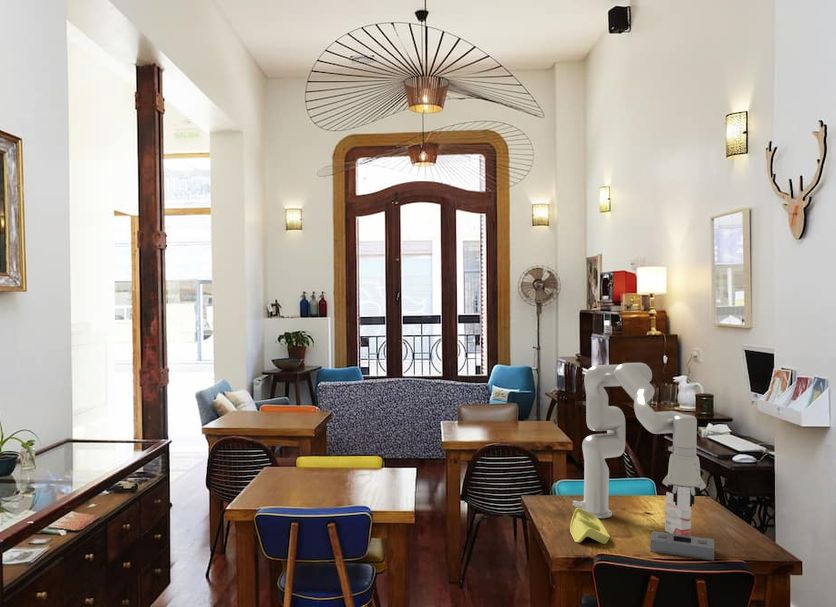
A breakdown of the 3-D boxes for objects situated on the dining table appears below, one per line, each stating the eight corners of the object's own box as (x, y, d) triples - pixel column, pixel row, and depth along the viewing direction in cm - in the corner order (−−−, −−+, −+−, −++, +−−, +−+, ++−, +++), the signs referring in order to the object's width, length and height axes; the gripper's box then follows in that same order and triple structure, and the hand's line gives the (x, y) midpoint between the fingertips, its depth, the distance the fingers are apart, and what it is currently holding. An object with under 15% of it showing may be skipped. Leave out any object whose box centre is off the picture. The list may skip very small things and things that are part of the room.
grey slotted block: (650, 551, 239) (650, 539, 239) (652, 542, 248) (652, 530, 248) (714, 560, 231) (714, 548, 231) (713, 550, 241) (714, 539, 241)
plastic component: (611, 538, 244) (586, 525, 244) (601, 557, 245) (576, 544, 245) (597, 516, 264) (574, 505, 264) (588, 533, 265) (565, 522, 264)
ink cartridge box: (691, 536, 255) (692, 496, 255) (681, 538, 253) (682, 497, 253) (674, 529, 263) (675, 490, 263) (664, 530, 261) (665, 491, 261)
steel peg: (677, 509, 238) (677, 486, 238) (677, 506, 242) (677, 483, 242) (689, 511, 237) (690, 487, 237) (689, 508, 241) (690, 484, 241)
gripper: (658, 451, 239) (657, 505, 239) (711, 456, 233) (710, 511, 233) (659, 447, 246) (658, 499, 246) (711, 451, 240) (710, 505, 240)
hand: (683, 504), depth 240 cm, fingers closed on steel peg, 4 cm apart
